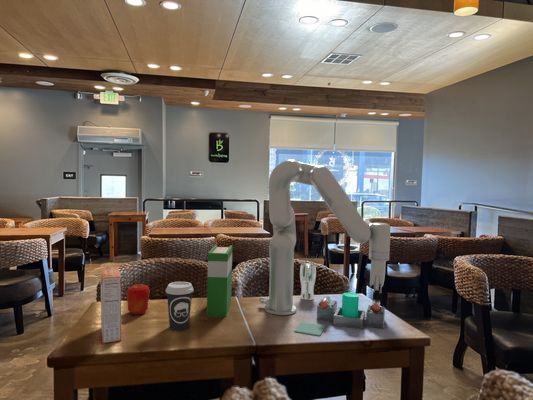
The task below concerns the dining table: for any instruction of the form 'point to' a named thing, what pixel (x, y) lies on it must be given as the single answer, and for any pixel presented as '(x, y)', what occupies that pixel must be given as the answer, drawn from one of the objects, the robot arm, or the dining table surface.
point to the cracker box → (110, 304)
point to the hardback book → (219, 281)
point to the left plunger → (324, 302)
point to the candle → (350, 304)
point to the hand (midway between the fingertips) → (377, 302)
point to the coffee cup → (179, 304)
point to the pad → (309, 328)
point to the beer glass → (307, 280)
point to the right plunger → (375, 306)
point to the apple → (138, 298)
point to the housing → (336, 316)
